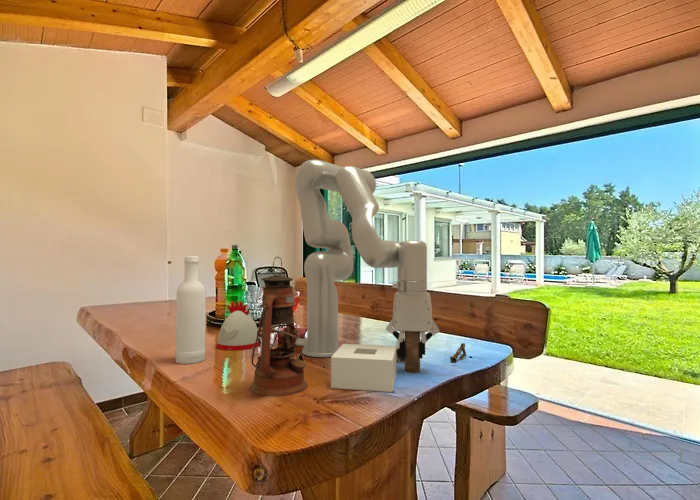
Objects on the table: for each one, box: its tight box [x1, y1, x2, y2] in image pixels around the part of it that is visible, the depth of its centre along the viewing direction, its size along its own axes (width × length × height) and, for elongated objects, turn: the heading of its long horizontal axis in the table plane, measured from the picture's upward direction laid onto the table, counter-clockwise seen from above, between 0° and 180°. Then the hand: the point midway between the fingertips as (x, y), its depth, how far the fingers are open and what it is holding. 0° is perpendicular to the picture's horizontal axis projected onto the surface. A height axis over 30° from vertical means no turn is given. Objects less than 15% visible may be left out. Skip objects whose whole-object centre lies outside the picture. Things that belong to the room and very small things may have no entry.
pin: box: [404, 332, 421, 374], centre depth 102 cm, size 4×4×12 cm
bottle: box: [175, 255, 206, 365], centre depth 111 cm, size 8×8×30 cm
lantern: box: [250, 256, 308, 397], centre depth 90 cm, size 17×13×30 cm
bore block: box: [330, 343, 397, 393], centre depth 94 cm, size 14×14×7 cm
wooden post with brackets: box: [449, 342, 467, 364], centre depth 113 cm, size 2×8×4 cm, turn 138°
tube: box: [396, 332, 405, 364], centre depth 122 cm, size 5×5×25 cm
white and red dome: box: [216, 300, 260, 352], centre depth 130 cm, size 14×14×15 cm
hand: (412, 356), depth 102 cm, fingers closed on pin, 4 cm apart
